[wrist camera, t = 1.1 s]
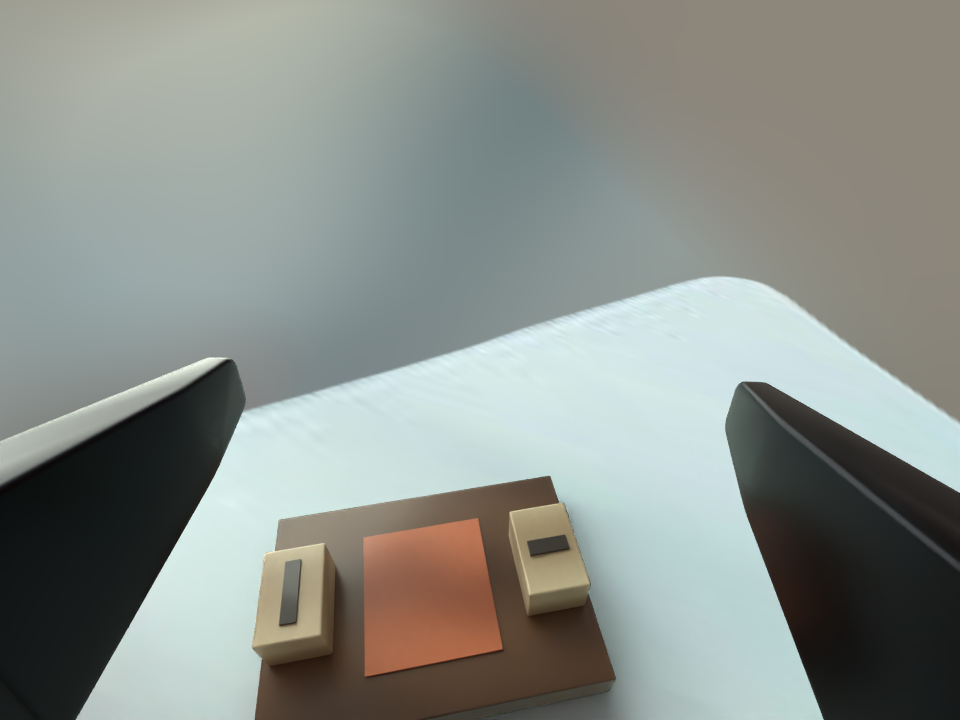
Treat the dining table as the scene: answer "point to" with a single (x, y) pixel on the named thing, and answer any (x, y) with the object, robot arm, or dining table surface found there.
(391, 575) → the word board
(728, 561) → the dining table surface
